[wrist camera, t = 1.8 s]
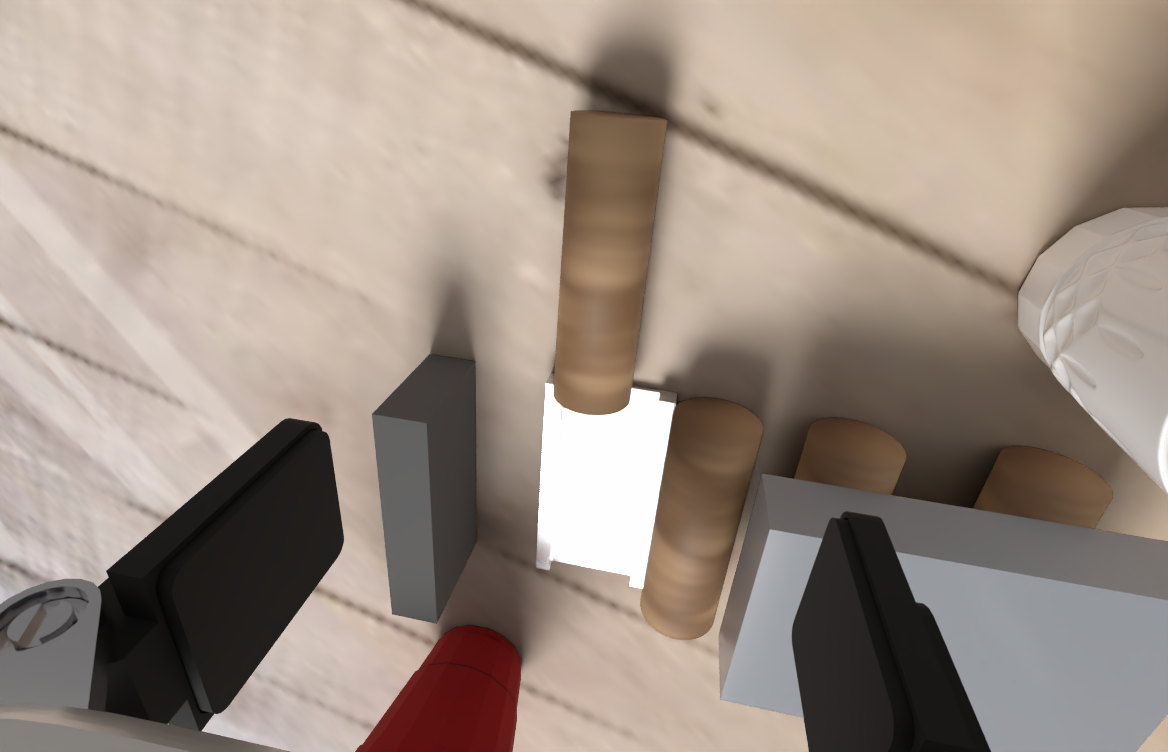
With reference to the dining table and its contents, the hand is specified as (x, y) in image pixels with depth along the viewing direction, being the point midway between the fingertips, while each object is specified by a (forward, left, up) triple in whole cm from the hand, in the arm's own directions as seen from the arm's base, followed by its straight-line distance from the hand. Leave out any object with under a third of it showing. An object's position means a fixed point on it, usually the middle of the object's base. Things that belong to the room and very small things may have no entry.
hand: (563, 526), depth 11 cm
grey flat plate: (+1, +12, -17) cm, 21 cm away
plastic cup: (+8, +28, -18) cm, 34 cm away
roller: (0, 0, -17) cm, 17 cm away
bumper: (+9, +12, -17) cm, 23 cm away
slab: (-14, +12, -13) cm, 23 cm away
